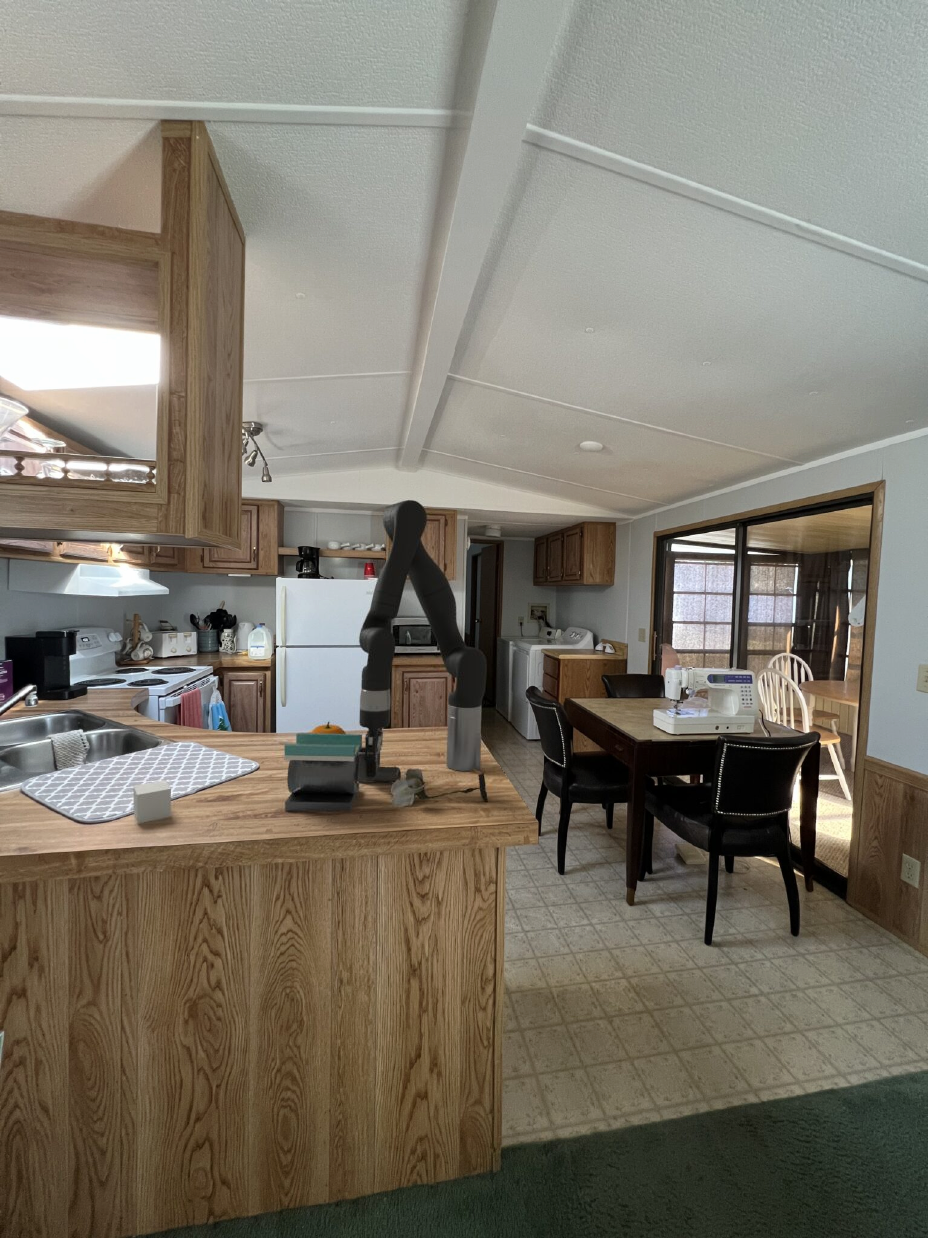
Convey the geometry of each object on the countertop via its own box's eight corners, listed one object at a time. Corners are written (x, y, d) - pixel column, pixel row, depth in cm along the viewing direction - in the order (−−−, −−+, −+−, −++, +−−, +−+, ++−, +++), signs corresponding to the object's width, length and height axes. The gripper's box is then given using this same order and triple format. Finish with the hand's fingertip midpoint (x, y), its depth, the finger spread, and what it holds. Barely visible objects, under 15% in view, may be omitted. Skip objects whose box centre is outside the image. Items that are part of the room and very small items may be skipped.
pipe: (395, 788, 131) (396, 756, 130) (346, 783, 133) (347, 751, 133) (403, 780, 137) (404, 749, 136) (356, 775, 139) (356, 745, 139)
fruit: (335, 747, 163) (335, 715, 162) (355, 757, 154) (356, 722, 154) (298, 754, 155) (299, 720, 154) (318, 765, 146) (318, 728, 146)
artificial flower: (490, 814, 120) (487, 776, 117) (390, 822, 121) (384, 785, 117) (488, 789, 129) (484, 754, 126) (395, 797, 129) (389, 762, 126)
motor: (361, 791, 128) (362, 733, 127) (352, 812, 116) (353, 748, 115) (297, 790, 127) (298, 732, 127) (282, 811, 115) (283, 746, 115)
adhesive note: (133, 814, 112) (133, 785, 112) (165, 807, 116) (165, 780, 115) (137, 824, 107) (137, 794, 107) (170, 817, 111) (170, 788, 111)
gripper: (387, 713, 127) (385, 781, 128) (392, 701, 141) (391, 762, 142) (355, 712, 127) (353, 780, 128) (364, 700, 141) (362, 761, 142)
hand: (373, 770), depth 135 cm, fingers open, 7 cm apart
